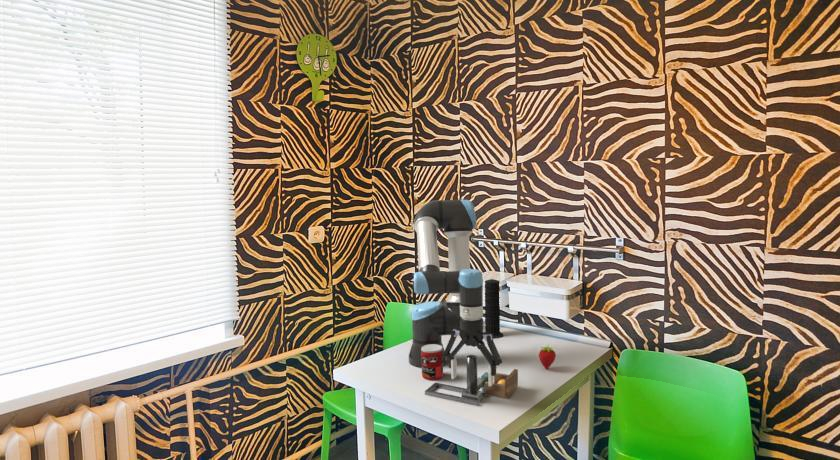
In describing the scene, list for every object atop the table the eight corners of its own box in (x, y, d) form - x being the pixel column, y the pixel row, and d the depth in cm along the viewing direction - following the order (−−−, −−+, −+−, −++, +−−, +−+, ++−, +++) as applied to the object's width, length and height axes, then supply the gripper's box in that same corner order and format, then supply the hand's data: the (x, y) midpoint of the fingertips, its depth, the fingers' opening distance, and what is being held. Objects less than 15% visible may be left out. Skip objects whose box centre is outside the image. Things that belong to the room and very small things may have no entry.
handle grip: (480, 338, 223) (503, 339, 221) (480, 281, 220) (502, 281, 218) (482, 331, 233) (503, 332, 231) (482, 276, 230) (503, 277, 228)
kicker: (461, 398, 161) (460, 357, 159) (477, 382, 173) (477, 344, 172) (478, 402, 158) (478, 360, 156) (493, 385, 170) (493, 346, 169)
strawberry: (558, 367, 186) (558, 342, 185) (550, 374, 180) (550, 347, 179) (544, 364, 190) (544, 339, 189) (535, 370, 184) (535, 344, 183)
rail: (424, 394, 165) (424, 391, 165) (435, 385, 172) (435, 382, 172) (477, 405, 156) (477, 402, 156) (486, 396, 163) (486, 392, 163)
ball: (503, 395, 164) (493, 389, 166) (507, 391, 168) (497, 384, 169) (508, 386, 163) (498, 379, 165) (512, 382, 167) (502, 375, 168)
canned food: (417, 376, 180) (416, 347, 179) (432, 370, 186) (432, 342, 185) (432, 382, 175) (431, 352, 174) (447, 375, 181) (446, 347, 180)
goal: (485, 394, 164) (484, 375, 164) (495, 383, 173) (495, 365, 172) (508, 399, 160) (508, 380, 160) (517, 387, 169) (517, 369, 168)
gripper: (432, 316, 161) (433, 378, 163) (503, 325, 149) (504, 392, 151) (442, 310, 168) (443, 370, 170) (511, 318, 156) (511, 383, 158)
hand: (472, 381), depth 160 cm, fingers open, 12 cm apart
